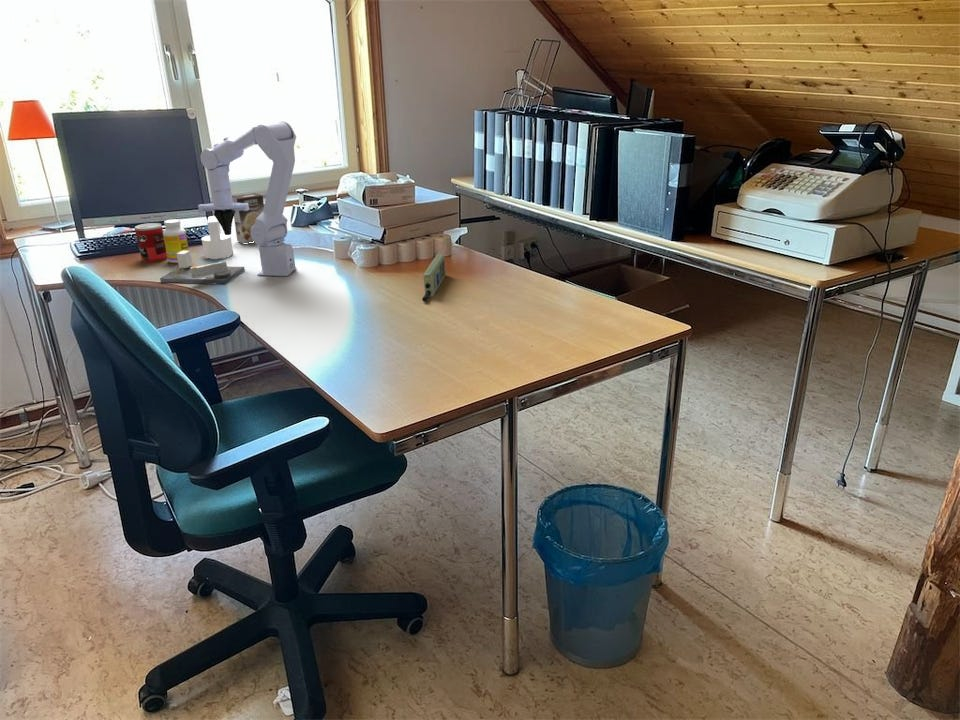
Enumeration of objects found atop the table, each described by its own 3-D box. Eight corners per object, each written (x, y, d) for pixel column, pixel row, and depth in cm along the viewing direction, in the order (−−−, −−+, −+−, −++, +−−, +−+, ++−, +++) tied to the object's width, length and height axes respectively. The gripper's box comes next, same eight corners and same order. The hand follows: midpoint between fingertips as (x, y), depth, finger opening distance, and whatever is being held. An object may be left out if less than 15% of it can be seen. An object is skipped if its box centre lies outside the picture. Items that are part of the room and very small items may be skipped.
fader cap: (192, 264, 214) (189, 250, 212) (186, 268, 210) (184, 253, 209) (185, 264, 214) (182, 250, 212) (179, 267, 211) (176, 253, 209)
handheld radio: (447, 275, 206) (431, 304, 183) (436, 276, 207) (419, 304, 184) (445, 253, 203) (429, 280, 181) (434, 254, 204) (416, 280, 181)
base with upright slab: (205, 253, 232) (198, 217, 227) (233, 250, 234) (227, 215, 229) (204, 260, 224) (197, 223, 219) (233, 257, 226) (227, 221, 221)
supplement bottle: (185, 263, 221) (177, 223, 215) (165, 263, 221) (156, 223, 215) (194, 257, 227) (186, 218, 221) (173, 257, 227) (166, 218, 222)
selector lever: (226, 270, 208) (224, 258, 206) (233, 273, 204) (231, 262, 203) (190, 277, 201) (187, 266, 200) (196, 281, 198) (194, 269, 196)
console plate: (244, 270, 213) (244, 266, 212) (225, 283, 201) (224, 279, 200) (183, 269, 215) (182, 265, 214) (160, 282, 203) (159, 278, 203)
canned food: (141, 257, 227) (134, 224, 223) (167, 254, 230) (161, 221, 226) (141, 263, 221) (134, 229, 216) (169, 260, 224) (162, 226, 219)
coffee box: (244, 245, 240) (236, 198, 233) (237, 241, 244) (229, 195, 238) (269, 240, 245) (262, 194, 238) (261, 237, 250) (255, 192, 243)
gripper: (191, 192, 204) (200, 238, 210) (241, 191, 205) (248, 237, 210) (199, 188, 211) (207, 232, 216) (247, 187, 211) (254, 231, 217)
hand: (228, 234), depth 214 cm, fingers closed
